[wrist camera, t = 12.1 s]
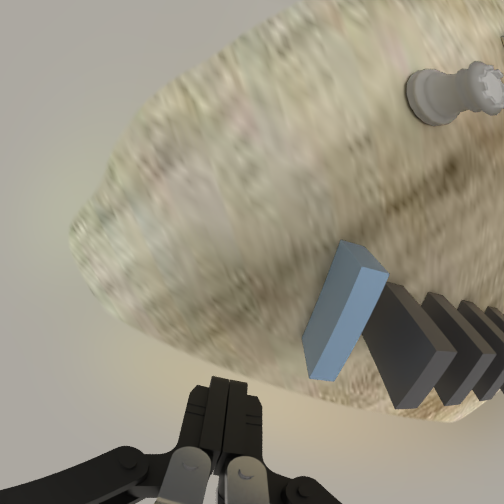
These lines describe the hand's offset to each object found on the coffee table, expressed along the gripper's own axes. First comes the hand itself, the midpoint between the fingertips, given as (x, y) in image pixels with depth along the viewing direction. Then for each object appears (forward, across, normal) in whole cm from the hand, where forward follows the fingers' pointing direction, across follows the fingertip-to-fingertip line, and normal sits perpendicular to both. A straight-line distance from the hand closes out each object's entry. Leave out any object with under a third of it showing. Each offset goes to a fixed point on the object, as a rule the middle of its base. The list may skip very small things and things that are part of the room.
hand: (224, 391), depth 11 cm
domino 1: (+11, -12, 0) cm, 16 cm away
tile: (+9, -7, -5) cm, 12 cm away
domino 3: (+11, -22, 0) cm, 25 cm away
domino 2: (+11, -17, 0) cm, 20 cm away
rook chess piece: (+11, -10, -18) cm, 23 cm away
